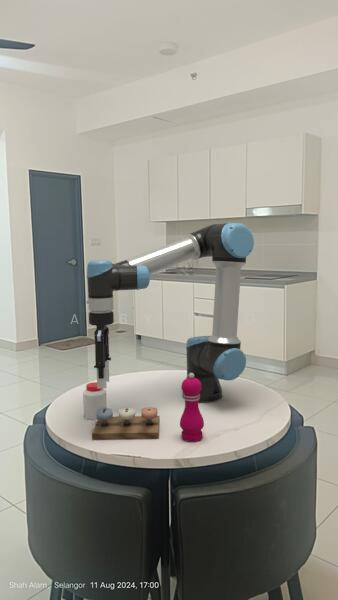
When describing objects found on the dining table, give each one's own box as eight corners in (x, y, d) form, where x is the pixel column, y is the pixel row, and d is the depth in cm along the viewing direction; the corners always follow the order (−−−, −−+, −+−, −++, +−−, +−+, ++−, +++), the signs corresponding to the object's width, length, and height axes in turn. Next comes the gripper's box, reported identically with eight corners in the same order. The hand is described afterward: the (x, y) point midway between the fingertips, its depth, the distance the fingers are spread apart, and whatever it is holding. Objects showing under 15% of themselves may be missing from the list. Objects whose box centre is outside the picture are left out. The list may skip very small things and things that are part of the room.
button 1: (157, 419, 155) (157, 406, 154) (157, 425, 150) (157, 412, 149) (141, 420, 155) (141, 406, 154) (141, 426, 150) (140, 412, 149)
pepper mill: (178, 433, 149) (177, 370, 147) (202, 432, 150) (201, 369, 147) (181, 443, 142) (180, 376, 140) (205, 441, 143) (205, 375, 140)
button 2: (135, 420, 155) (135, 407, 154) (134, 426, 150) (134, 412, 149) (119, 420, 155) (119, 407, 154) (118, 426, 150) (118, 412, 149)
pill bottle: (88, 421, 161) (86, 389, 159) (81, 414, 167) (79, 383, 166) (110, 417, 164) (109, 385, 163) (102, 410, 171) (101, 380, 170)
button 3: (113, 420, 155) (113, 407, 154) (111, 426, 150) (111, 412, 149) (98, 420, 155) (97, 407, 154) (95, 426, 150) (95, 413, 149)
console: (159, 421, 159) (159, 415, 159) (158, 438, 145) (158, 432, 145) (98, 422, 159) (98, 416, 159) (92, 440, 145) (91, 433, 145)
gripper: (93, 307, 157) (95, 376, 160) (83, 316, 138) (86, 394, 141) (116, 306, 157) (118, 375, 160) (109, 315, 138) (112, 394, 141)
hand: (103, 384), depth 151 cm, fingers open, 6 cm apart
